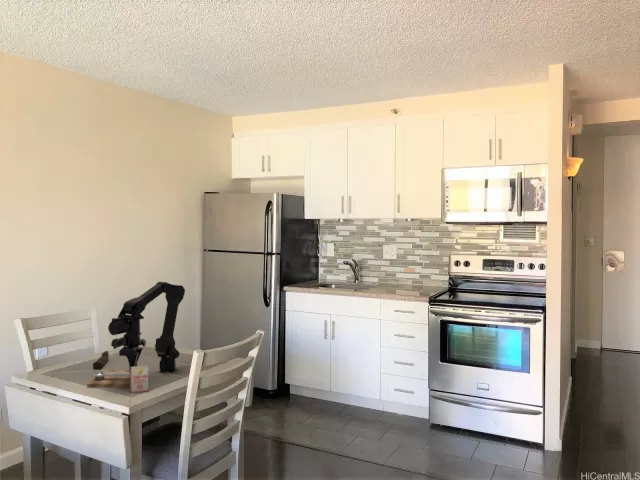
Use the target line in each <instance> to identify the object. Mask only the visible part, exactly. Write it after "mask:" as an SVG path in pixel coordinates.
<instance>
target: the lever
mask: <svg viewBox="0 0 640 480" xmlns="http://www.w3.org/2000/svg"><path fill="white" fill-rule="evenodd" d="M128 365H129V364H128ZM136 366H138V362H137V359H136V362H135V365H134V367H136ZM128 368H129V369H128V370H129V372H102V371H103V370H98V371H95V372H94V373H93V374H92V376H93V378H95V377H97V378H98V377H126V376H130V365H129V366H128Z"/></svg>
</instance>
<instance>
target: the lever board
mask: <svg viewBox="0 0 640 480" xmlns="http://www.w3.org/2000/svg"><path fill="white" fill-rule="evenodd" d="M101 371H102V372H129V369H124V370H123V369H122V370H121V369H119V370H115V369H114V370H113V369H112V370H111V369H110V370H109V369H108V370H104V369H103V370H101ZM86 385H87V388H131V386H130V376H126V377H98V378H97V377H93V378H92V379H90V380H89V381H88V382H87V383H86Z"/></svg>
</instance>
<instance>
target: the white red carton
mask: <svg viewBox="0 0 640 480" xmlns="http://www.w3.org/2000/svg"><path fill="white" fill-rule="evenodd" d="M130 386H131V387H130V394H133V393H143V392H149V365H139V366H138V365H137V366H136V367H130Z"/></svg>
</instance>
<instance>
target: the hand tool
mask: <svg viewBox="0 0 640 480" xmlns="http://www.w3.org/2000/svg"><path fill="white" fill-rule="evenodd" d="M109 357H110V356H109V351H108V350H106V351H104V352H102V353H101V355H100V357H99V358H98V359H97V360H96V361H94V362H93V363H92V369H93V370H94V371H95V370H98V371H100V370H101V369H102V368H103V366H104V365H105V363H107V362H109Z"/></svg>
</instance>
